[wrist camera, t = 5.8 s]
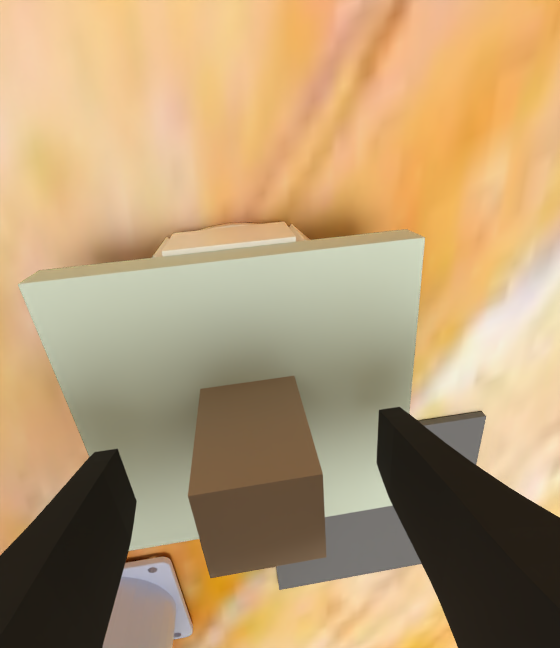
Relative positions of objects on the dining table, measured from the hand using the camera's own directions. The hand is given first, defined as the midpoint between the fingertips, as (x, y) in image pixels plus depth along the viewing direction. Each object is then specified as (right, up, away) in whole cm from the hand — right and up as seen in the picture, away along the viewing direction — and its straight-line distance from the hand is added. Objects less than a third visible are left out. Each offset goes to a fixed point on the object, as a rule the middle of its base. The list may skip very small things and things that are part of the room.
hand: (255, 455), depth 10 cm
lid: (0, +1, +3) cm, 3 cm away
